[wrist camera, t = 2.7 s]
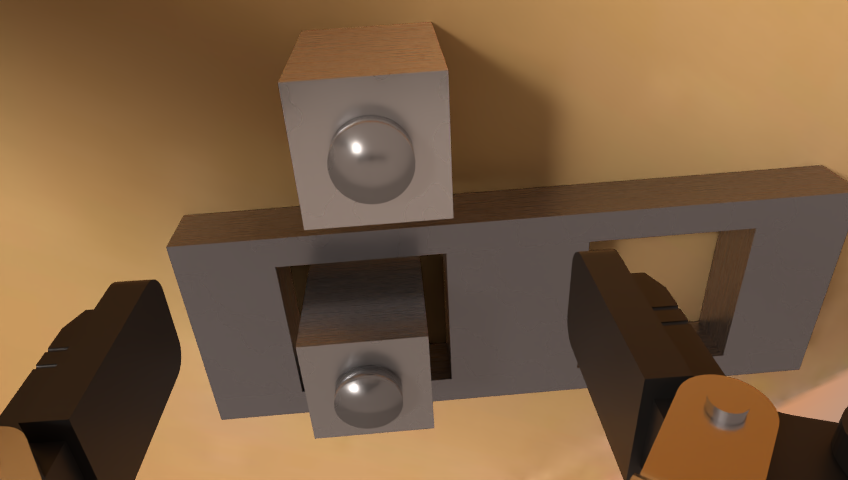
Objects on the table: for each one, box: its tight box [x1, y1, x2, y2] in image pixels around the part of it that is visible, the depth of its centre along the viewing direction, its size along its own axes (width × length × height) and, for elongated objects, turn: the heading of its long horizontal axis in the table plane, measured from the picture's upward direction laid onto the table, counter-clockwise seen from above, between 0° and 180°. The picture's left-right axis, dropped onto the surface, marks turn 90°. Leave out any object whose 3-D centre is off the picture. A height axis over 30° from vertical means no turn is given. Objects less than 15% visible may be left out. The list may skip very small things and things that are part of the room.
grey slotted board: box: [166, 165, 848, 420], centre depth 26 cm, size 9×26×2 cm, turn 93°
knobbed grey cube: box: [296, 256, 434, 439], centre depth 24 cm, size 4×4×7 cm
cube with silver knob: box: [278, 22, 453, 230], centre depth 20 cm, size 4×4×7 cm
